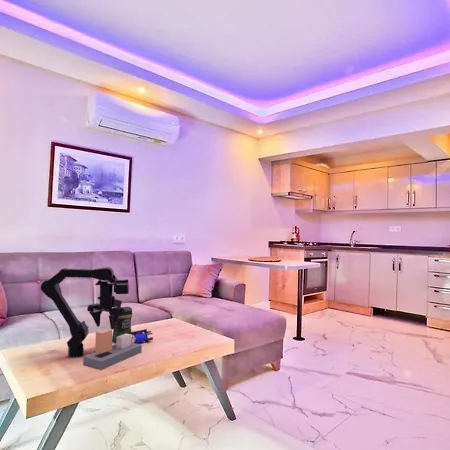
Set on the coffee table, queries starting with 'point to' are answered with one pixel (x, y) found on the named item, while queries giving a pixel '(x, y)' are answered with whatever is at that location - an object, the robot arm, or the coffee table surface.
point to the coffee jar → (122, 324)
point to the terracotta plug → (103, 341)
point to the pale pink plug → (123, 341)
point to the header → (111, 356)
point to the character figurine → (140, 336)
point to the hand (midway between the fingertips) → (105, 327)
